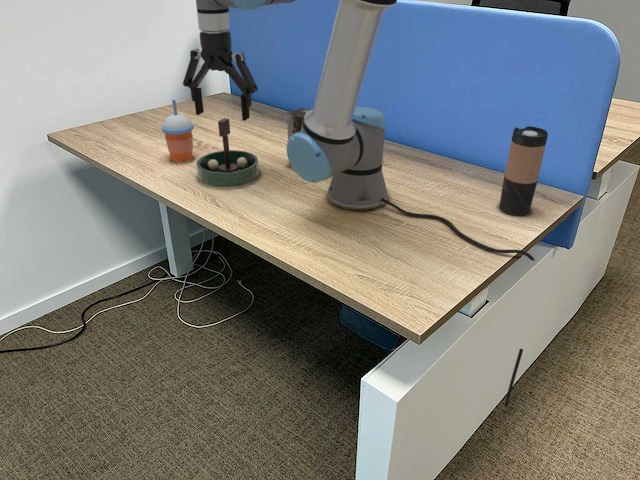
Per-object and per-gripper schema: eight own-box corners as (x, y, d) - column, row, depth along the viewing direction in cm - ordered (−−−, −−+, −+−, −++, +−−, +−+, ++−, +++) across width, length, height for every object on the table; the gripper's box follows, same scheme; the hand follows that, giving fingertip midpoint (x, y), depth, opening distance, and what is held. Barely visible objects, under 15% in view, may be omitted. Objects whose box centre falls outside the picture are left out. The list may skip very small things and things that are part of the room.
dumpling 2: (249, 167, 151) (249, 157, 149) (242, 170, 149) (241, 160, 147) (242, 164, 152) (241, 154, 151) (235, 167, 150) (234, 157, 149)
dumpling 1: (221, 169, 149) (220, 159, 148) (213, 172, 147) (212, 162, 146) (214, 166, 151) (213, 157, 149) (206, 169, 149) (204, 160, 147)
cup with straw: (190, 166, 152) (181, 105, 143) (161, 164, 154) (151, 103, 145) (202, 155, 160) (195, 96, 151) (174, 153, 162) (166, 94, 152)
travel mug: (526, 219, 125) (544, 139, 115) (494, 211, 128) (509, 133, 118) (533, 206, 130) (551, 129, 120) (502, 199, 134) (517, 123, 124)
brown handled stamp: (241, 171, 148) (236, 118, 140) (232, 179, 144) (227, 124, 136) (224, 169, 149) (219, 116, 141) (216, 176, 145) (210, 122, 137)
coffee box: (325, 168, 151) (326, 113, 143) (310, 175, 147) (309, 119, 139) (303, 160, 157) (302, 107, 148) (287, 166, 153) (286, 112, 144)
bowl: (271, 174, 148) (270, 159, 145) (227, 194, 136) (225, 178, 134) (230, 160, 157) (229, 145, 154) (185, 178, 146) (183, 162, 143)
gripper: (268, 31, 127) (271, 117, 138) (178, 25, 133) (188, 107, 144) (255, 36, 121) (259, 125, 132) (161, 30, 127) (173, 115, 138)
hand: (222, 116), depth 138 cm, fingers open, 13 cm apart
